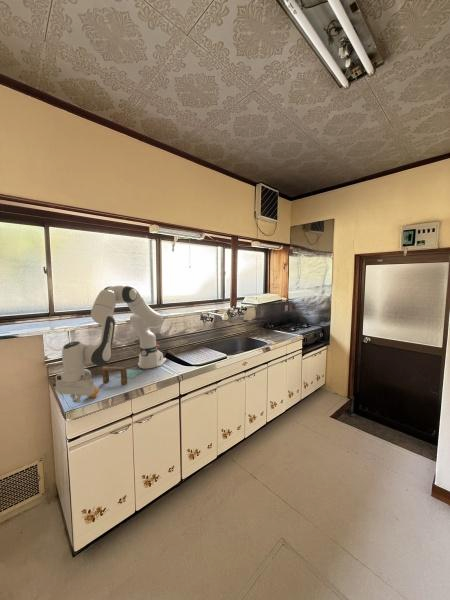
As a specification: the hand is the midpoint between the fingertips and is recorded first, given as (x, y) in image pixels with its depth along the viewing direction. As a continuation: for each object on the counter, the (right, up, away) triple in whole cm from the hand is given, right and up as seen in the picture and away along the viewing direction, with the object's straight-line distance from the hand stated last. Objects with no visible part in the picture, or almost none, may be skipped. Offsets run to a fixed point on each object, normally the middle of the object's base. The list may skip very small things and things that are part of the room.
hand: (76, 402), depth 121 cm
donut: (-12, -1, +26) cm, 29 cm away
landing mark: (+11, +1, +42) cm, 43 cm away
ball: (+2, +2, +10) cm, 10 cm away
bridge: (+7, 0, +27) cm, 28 cm away
